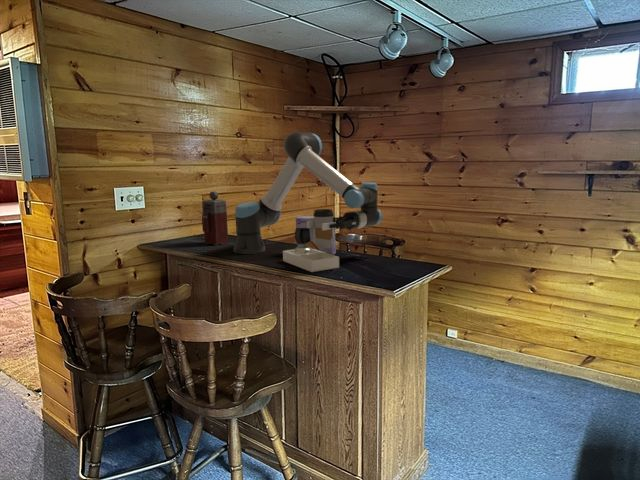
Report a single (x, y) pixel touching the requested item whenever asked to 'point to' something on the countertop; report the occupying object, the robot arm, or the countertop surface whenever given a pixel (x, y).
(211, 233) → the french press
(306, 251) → the metal tin
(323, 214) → the coffee cup
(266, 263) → the countertop surface
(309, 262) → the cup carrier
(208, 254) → the countertop surface
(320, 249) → the cake pan box
